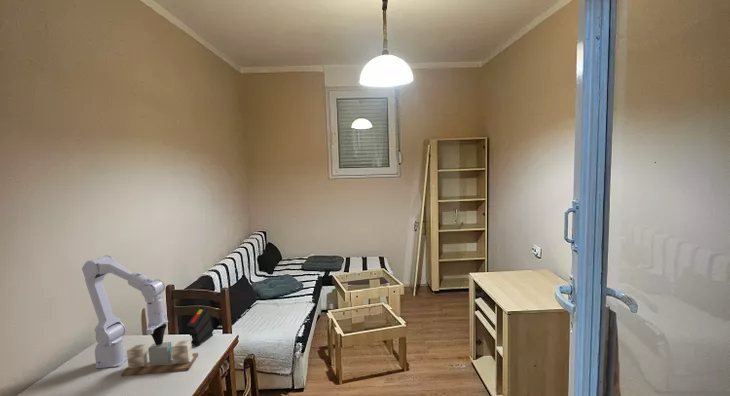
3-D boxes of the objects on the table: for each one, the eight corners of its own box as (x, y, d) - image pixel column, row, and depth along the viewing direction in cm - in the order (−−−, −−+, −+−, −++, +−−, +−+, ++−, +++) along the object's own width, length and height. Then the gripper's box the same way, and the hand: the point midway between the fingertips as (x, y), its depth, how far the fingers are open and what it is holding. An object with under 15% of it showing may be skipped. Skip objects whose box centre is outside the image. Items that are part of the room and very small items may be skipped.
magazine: (217, 329, 192) (206, 306, 184) (203, 352, 181) (190, 329, 174) (210, 328, 193) (199, 306, 185) (195, 352, 182) (183, 329, 175)
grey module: (150, 365, 161) (148, 348, 160) (154, 360, 165) (152, 343, 165) (168, 363, 162) (167, 347, 161) (172, 358, 166) (171, 341, 165)
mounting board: (121, 376, 157) (119, 355, 156) (136, 360, 169) (133, 341, 168) (188, 370, 159) (186, 349, 158) (198, 355, 171) (196, 336, 170)
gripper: (158, 317, 154) (162, 351, 156) (173, 303, 169) (176, 335, 170) (139, 319, 154) (143, 353, 155) (155, 305, 168) (158, 336, 170)
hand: (159, 344), depth 163 cm, fingers closed
